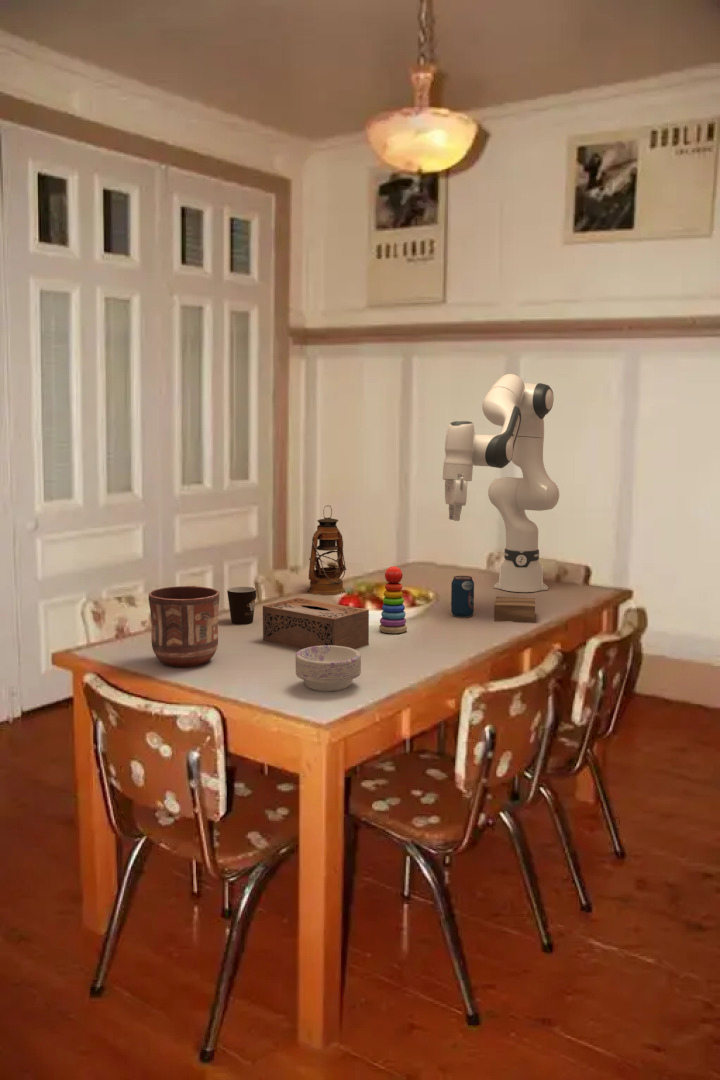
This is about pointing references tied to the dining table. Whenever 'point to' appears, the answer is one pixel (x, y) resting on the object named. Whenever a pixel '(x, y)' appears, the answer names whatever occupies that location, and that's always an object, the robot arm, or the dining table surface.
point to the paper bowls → (328, 667)
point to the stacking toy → (393, 603)
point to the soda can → (462, 596)
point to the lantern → (328, 537)
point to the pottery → (184, 625)
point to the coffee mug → (241, 604)
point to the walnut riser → (514, 609)
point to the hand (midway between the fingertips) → (454, 520)
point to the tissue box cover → (315, 624)
